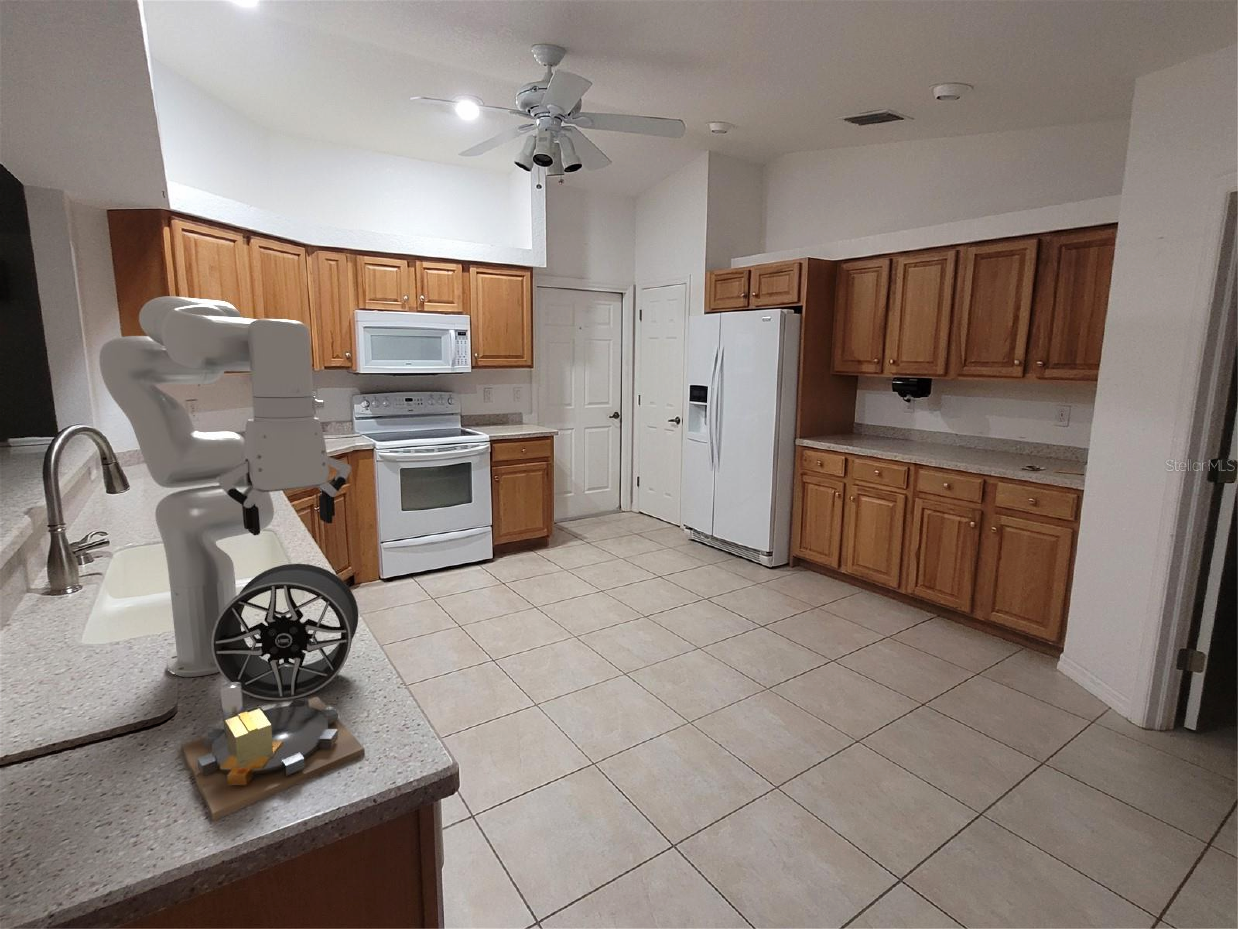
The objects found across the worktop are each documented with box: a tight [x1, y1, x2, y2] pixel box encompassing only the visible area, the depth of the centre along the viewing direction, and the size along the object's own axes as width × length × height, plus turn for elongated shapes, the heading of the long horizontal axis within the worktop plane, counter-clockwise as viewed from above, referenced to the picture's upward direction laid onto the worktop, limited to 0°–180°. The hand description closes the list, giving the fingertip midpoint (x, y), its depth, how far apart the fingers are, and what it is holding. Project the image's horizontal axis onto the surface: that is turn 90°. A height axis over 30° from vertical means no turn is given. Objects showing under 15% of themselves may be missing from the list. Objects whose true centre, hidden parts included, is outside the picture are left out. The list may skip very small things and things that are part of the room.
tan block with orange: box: [225, 709, 273, 770], centre depth 78 cm, size 5×4×5 cm
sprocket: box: [197, 682, 339, 785], centre depth 83 cm, size 17×17×8 cm
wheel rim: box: [211, 563, 360, 701], centre depth 100 cm, size 20×9×20 cm, turn 105°
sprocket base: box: [180, 696, 366, 821], centre depth 84 cm, size 18×18×1 cm
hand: (291, 527), depth 88 cm, fingers open, 9 cm apart
